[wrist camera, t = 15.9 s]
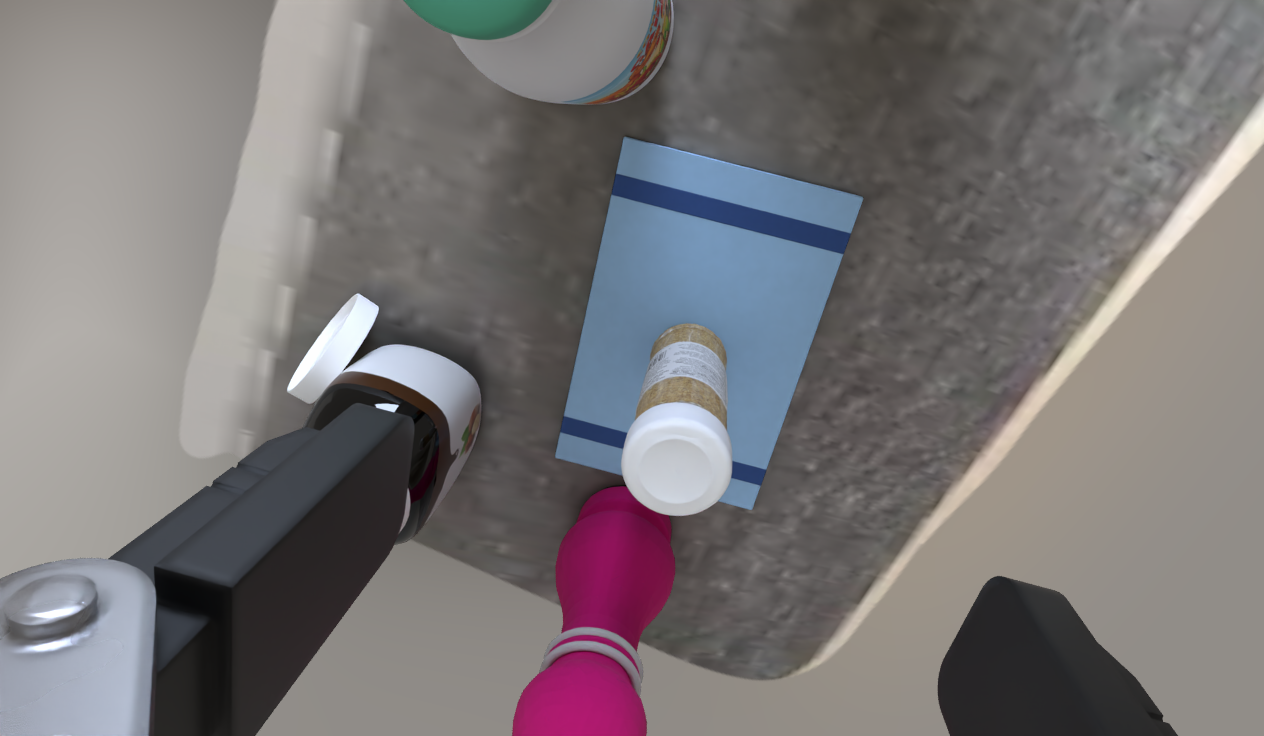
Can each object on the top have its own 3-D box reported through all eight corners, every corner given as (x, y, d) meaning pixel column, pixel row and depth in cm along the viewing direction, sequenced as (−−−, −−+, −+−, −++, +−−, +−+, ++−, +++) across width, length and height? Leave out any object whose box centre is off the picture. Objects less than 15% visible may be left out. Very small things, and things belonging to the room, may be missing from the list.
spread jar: (464, 490, 46) (386, 609, 35) (306, 431, 45) (178, 532, 35) (511, 332, 41) (438, 413, 30) (336, 267, 41) (199, 324, 30)
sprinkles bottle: (686, 407, 41) (672, 539, 28) (634, 354, 40) (596, 466, 27) (744, 360, 39) (756, 478, 27) (691, 304, 38) (678, 398, 26)
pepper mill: (701, 520, 44) (688, 818, 26) (637, 588, 47) (583, 903, 28) (611, 458, 43) (532, 720, 25) (551, 530, 46) (438, 817, 27)
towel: (625, 136, 36) (623, 136, 36) (861, 196, 36) (864, 197, 35) (556, 453, 44) (554, 458, 43) (751, 505, 43) (752, 511, 43)
